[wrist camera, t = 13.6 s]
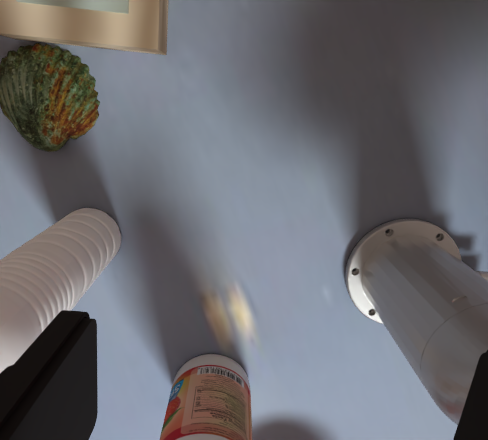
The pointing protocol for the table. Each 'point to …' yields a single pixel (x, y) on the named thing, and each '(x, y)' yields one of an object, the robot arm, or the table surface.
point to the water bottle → (51, 276)
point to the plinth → (89, 23)
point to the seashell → (47, 95)
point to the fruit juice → (209, 401)
